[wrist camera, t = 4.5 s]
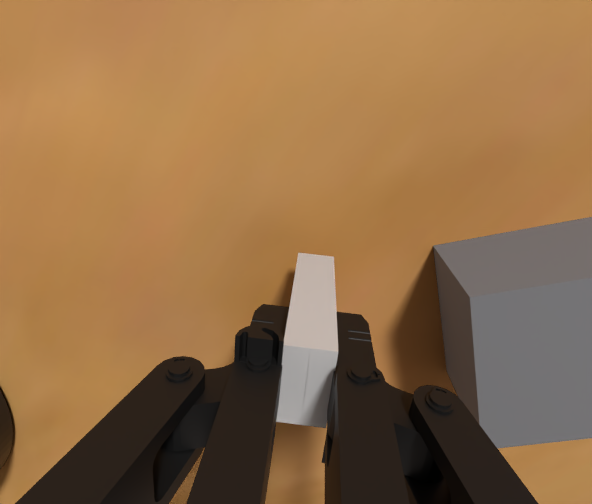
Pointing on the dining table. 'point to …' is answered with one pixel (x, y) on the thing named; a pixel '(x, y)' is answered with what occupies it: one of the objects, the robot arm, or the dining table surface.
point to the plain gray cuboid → (521, 330)
